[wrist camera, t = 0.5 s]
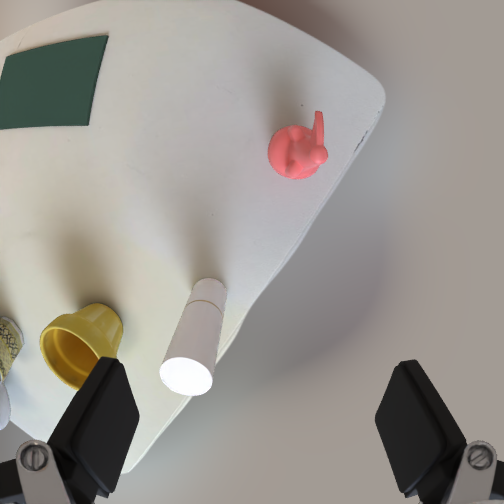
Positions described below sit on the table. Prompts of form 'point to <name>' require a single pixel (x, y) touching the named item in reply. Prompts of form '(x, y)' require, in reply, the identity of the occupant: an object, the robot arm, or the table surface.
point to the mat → (51, 84)
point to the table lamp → (4, 405)
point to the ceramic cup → (8, 345)
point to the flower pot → (80, 342)
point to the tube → (196, 340)
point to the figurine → (298, 149)
